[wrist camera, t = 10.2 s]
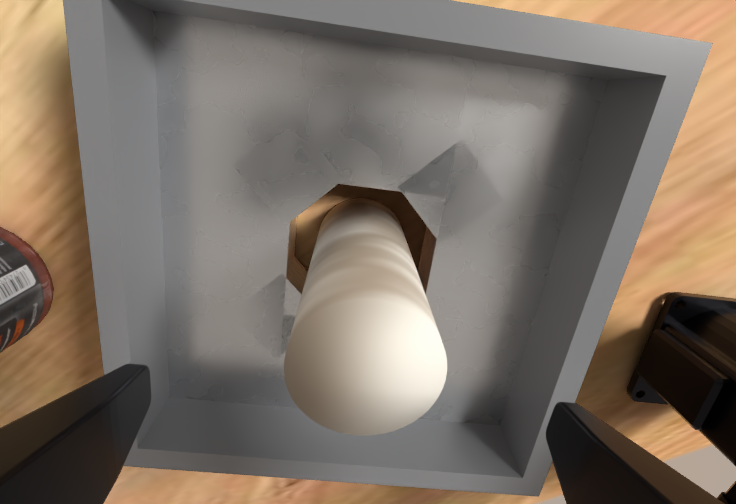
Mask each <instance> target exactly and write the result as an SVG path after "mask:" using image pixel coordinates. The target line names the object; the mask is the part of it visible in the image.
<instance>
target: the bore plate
mask: <svg viewBox="0 0 736 504" xmlns="http://www.w3.org/2000/svg"><path fill="white" fill-rule="evenodd" d="M153 28H154V51H155V74H156V97H157V120H158V143H159V166H160V189H161V212H162V235H163V259H164V282H165V305H166V328H167V351H168V374H169V397H174V398H185V399H197V400H208V401H220V402H232V403H243V404H255V405H266V406H278V407H290V408H298V406H297V405H296V404H295V402H294V401H293V399H292V398H291V396H290V394H289V392H288V389H287V386H286V383H285V378H284V359H285V354H286V350H287V347H288V343H289V339H290V336H291V332H292V328H293V325H294V321H295V317H296V314H297V310H298V306H299V303H300V299H301V295H302V292H303V288H304V284H305V281H306V277H307V273H308V271H307V270H306V269H305V268H304V267H303V266H302V264H301V263H300V262H299V261H298V260H297V259H296V258H295V257H294V254H295V241H296V227H297V216H298V215H299V214H300V213H302V212H303V211H304V210H306V209H307V208H308V207H309V206H311V205H312V204H313V203H315V202H316V201H317V200H318V199H320V198H321V197H322V196H324V195H325V194H326V193H327V192H329V191H330V190H331V189H333V188H334V187H335V186H336V185H338V184H344V185H352V186H360V187H368V188H376V189H384V190H392V191H399V192H402V193H403V194H404V196H405V197H406V198H407V200H408V201H409V202H410V204H411V205H412V206H413V208H414V209H415V210H416V212H417V213H418V215H419V216H420V217H421V219H422V220H423V221H424V223H425V224H426V230H425V235H424V240H423V245H422V251H421V256H420V261H419V266H418V270H417V272H418V275H419V278H420V281H421V283H422V286H423V289H424V292H425V295H426V298H427V300H428V303H429V306H430V309H431V312H432V314H433V317H434V320H435V323H436V326H437V328H438V331H439V334H440V337H441V340H442V343H443V345H444V349H445V352H446V357H447V375H446V380H445V383H444V387H443V389H442V391H441V393H440V395H439V397H438V398H437V400H436V401H435V403H434V404H433V405H432V406H431V408H430V409H429V410H428V411H427V412H426V413H425V414H423V415H422V416H421V417H420V418H418V419H429V420H441V421H452V422H464V423H476V424H487V425H499V426H500V424H501V420H502V417H503V414H504V411H505V408H506V404H507V401H508V398H509V395H510V392H511V388H512V385H513V382H514V379H515V376H516V372H517V369H518V366H519V363H520V359H521V356H522V353H523V350H524V347H525V343H526V340H527V337H528V334H529V331H530V327H531V324H532V321H533V318H534V315H535V311H536V308H537V305H538V302H539V299H540V295H541V292H542V289H543V286H544V283H545V279H546V276H547V273H548V270H549V267H550V263H551V260H552V257H553V254H554V251H555V247H556V244H557V241H558V238H559V235H560V231H561V228H562V225H563V222H564V218H565V215H566V212H567V209H568V206H569V202H570V199H571V196H572V193H573V190H574V186H575V183H576V180H577V177H578V174H579V170H580V167H581V164H582V161H583V158H584V154H585V151H586V148H587V145H588V142H589V138H590V135H591V132H592V129H593V126H594V122H595V119H596V116H597V113H598V110H599V106H600V103H601V100H602V97H603V94H604V90H605V87H606V84H607V81H608V80H606V79H599V78H593V77H586V76H580V75H573V74H567V73H560V72H554V71H547V70H541V69H534V68H527V67H521V66H514V65H508V64H501V63H495V62H488V61H482V60H475V59H469V58H462V57H456V56H449V55H443V54H436V53H429V52H423V51H416V50H410V49H403V48H397V47H390V46H384V45H377V44H371V43H364V42H358V41H351V40H344V39H338V38H331V37H325V36H318V35H312V34H305V33H299V32H292V31H286V30H279V29H273V28H266V27H260V26H253V25H246V24H240V23H233V22H227V21H220V20H214V19H207V18H201V17H194V16H188V15H181V14H175V13H168V12H161V11H155V10H153Z"/></svg>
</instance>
